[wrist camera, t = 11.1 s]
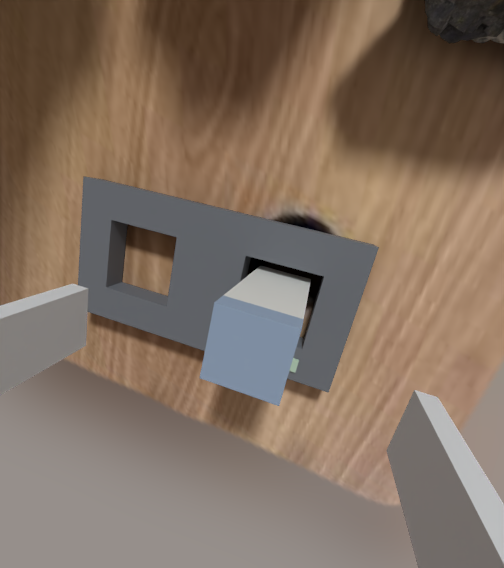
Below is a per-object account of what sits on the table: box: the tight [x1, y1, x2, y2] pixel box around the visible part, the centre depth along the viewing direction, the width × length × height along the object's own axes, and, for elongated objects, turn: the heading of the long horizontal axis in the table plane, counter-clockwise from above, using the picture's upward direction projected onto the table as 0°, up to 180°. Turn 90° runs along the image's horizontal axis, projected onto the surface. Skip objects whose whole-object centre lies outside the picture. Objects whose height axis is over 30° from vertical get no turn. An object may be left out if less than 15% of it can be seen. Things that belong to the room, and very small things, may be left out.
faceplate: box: [78, 177, 379, 392], centre depth 22 cm, size 22×11×2 cm, turn 77°
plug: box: [200, 266, 311, 406], centre depth 18 cm, size 4×4×10 cm
